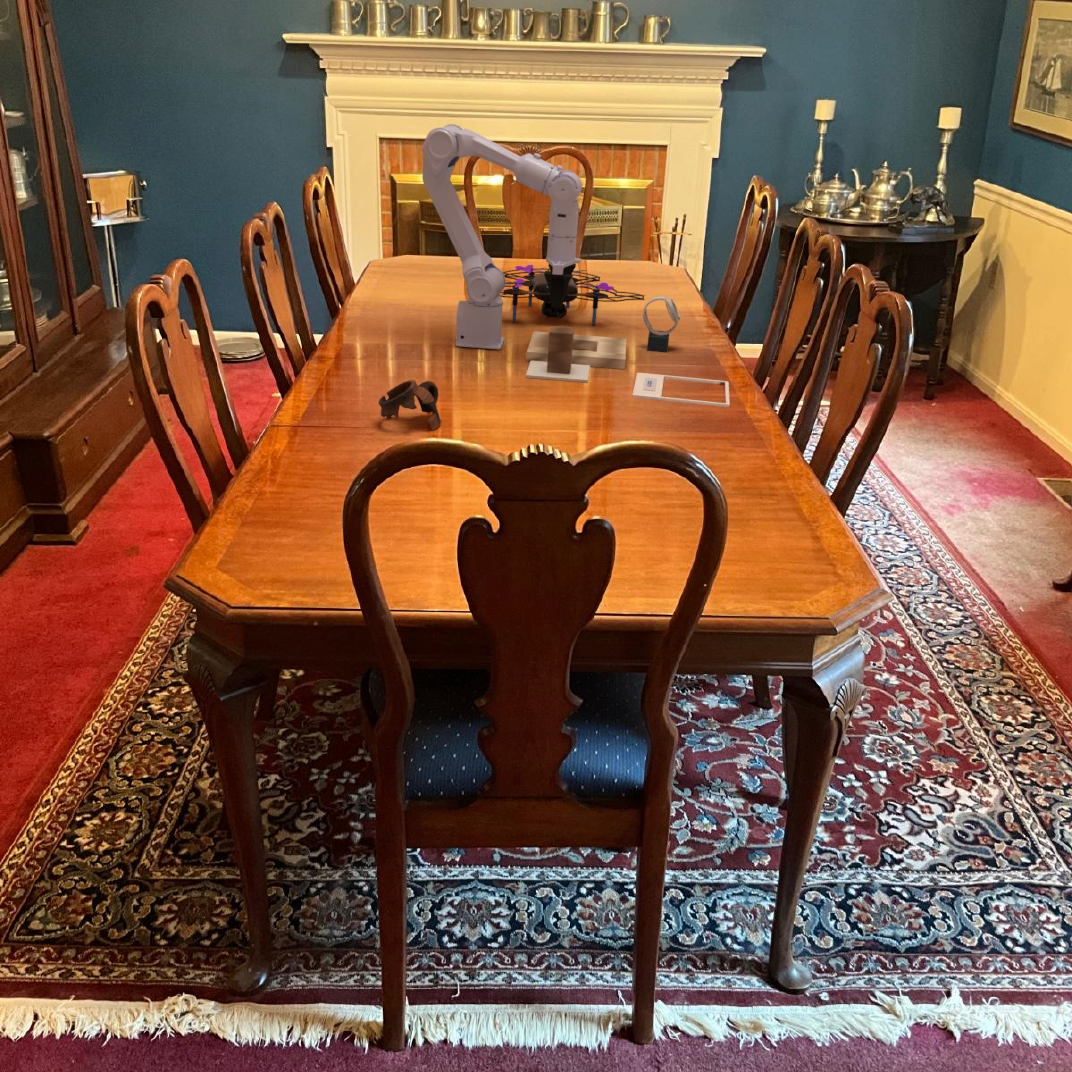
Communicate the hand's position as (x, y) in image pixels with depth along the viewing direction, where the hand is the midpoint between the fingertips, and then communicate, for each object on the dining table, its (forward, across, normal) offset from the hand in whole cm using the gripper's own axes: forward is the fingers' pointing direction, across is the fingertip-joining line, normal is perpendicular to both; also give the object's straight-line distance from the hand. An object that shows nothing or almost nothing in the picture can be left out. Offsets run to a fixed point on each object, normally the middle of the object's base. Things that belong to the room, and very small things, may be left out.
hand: (558, 303), depth 218 cm
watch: (+11, +10, -22) cm, 26 cm away
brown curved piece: (+11, -49, +20) cm, 54 cm away
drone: (+11, +32, +4) cm, 34 cm away
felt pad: (+10, -14, -2) cm, 18 cm away
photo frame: (+11, -19, -26) cm, 34 cm away
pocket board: (+10, 0, -5) cm, 11 cm away
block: (+10, -14, -2) cm, 17 cm away
